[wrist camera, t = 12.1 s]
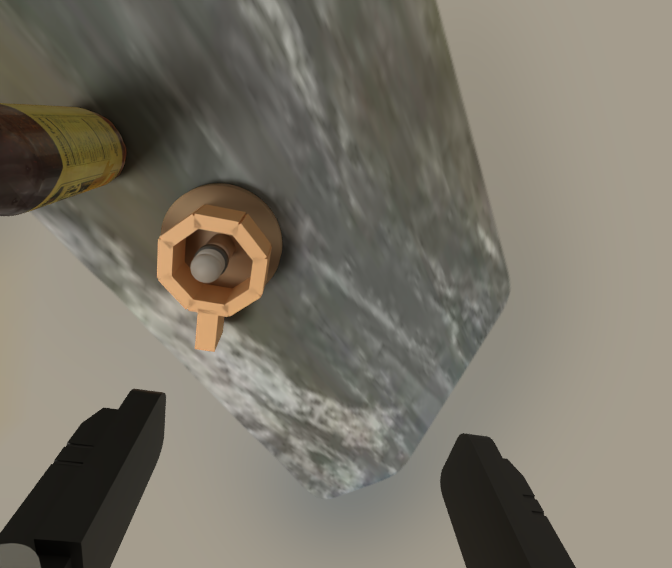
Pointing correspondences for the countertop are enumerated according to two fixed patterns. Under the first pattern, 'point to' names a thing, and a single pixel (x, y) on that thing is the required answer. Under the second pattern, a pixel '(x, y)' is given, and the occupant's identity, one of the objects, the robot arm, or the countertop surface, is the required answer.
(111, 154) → the sauce bottle
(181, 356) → the countertop surface
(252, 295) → the ring
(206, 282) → the round wooden base
